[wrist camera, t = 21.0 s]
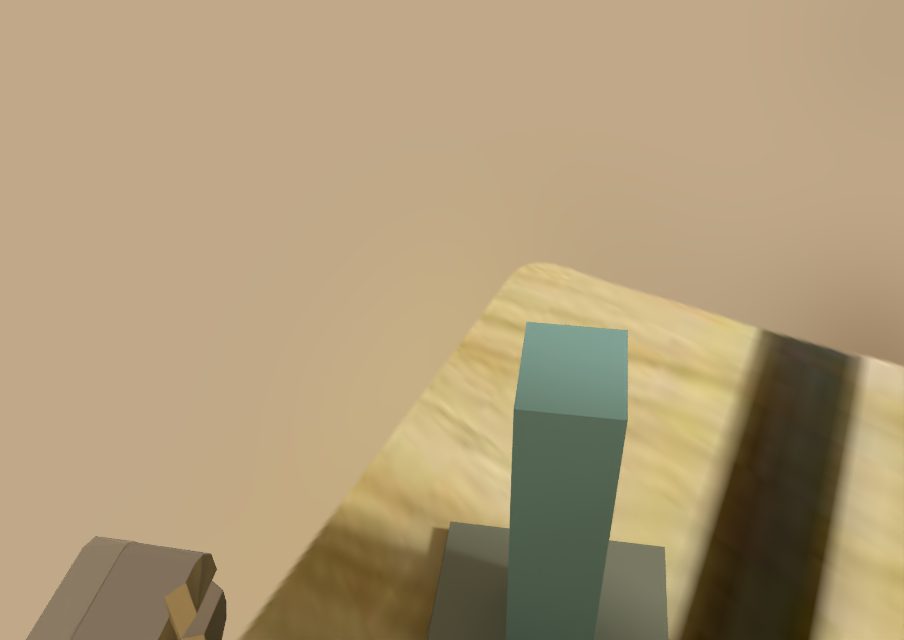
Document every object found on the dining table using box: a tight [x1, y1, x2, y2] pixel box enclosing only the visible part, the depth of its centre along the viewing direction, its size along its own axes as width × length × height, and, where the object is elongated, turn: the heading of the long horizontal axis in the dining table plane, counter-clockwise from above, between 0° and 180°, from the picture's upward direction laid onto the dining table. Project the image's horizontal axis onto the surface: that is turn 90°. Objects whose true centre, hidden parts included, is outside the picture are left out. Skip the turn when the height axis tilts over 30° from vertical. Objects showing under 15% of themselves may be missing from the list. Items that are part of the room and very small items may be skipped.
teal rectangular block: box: [506, 322, 628, 640], centre depth 38 cm, size 5×4×18 cm
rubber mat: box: [427, 522, 668, 640], centre depth 44 cm, size 12×12×1 cm
